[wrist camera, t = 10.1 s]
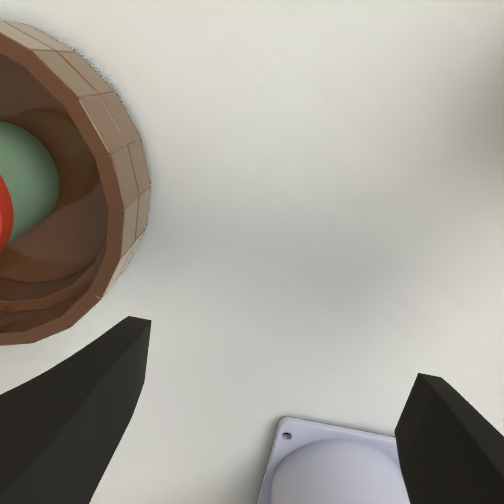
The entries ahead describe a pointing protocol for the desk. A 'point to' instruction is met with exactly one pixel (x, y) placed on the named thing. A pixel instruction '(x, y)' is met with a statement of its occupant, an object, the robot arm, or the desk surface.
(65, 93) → the bowl
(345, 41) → the desk surface
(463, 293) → the desk surface
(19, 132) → the container
